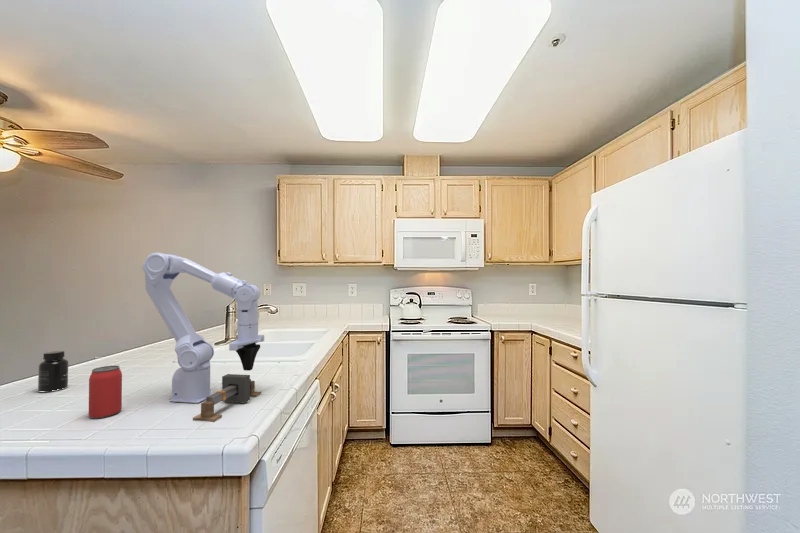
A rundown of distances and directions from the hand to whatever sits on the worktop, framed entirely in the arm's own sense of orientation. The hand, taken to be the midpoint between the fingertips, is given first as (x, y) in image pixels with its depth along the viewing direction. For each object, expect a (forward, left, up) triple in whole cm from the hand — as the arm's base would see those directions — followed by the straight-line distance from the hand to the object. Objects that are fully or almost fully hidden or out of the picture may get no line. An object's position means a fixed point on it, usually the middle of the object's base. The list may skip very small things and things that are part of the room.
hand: (248, 369), depth 104 cm
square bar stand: (0, -8, -8) cm, 11 cm away
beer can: (-29, -18, -8) cm, 35 cm away
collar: (0, -6, -8) cm, 9 cm away
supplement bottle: (-67, -3, -8) cm, 68 cm away
